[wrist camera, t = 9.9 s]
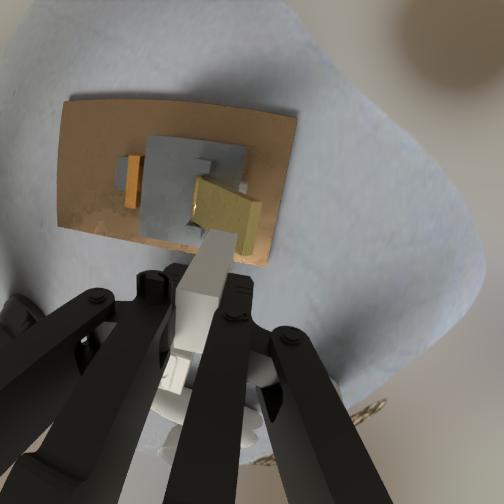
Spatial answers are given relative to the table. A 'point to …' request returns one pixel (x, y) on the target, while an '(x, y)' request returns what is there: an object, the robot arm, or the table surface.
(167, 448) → the teacup
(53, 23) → the table surface
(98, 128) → the block
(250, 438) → the bottle
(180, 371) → the ink box
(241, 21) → the table surface
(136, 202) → the lynch pin
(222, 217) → the tab
